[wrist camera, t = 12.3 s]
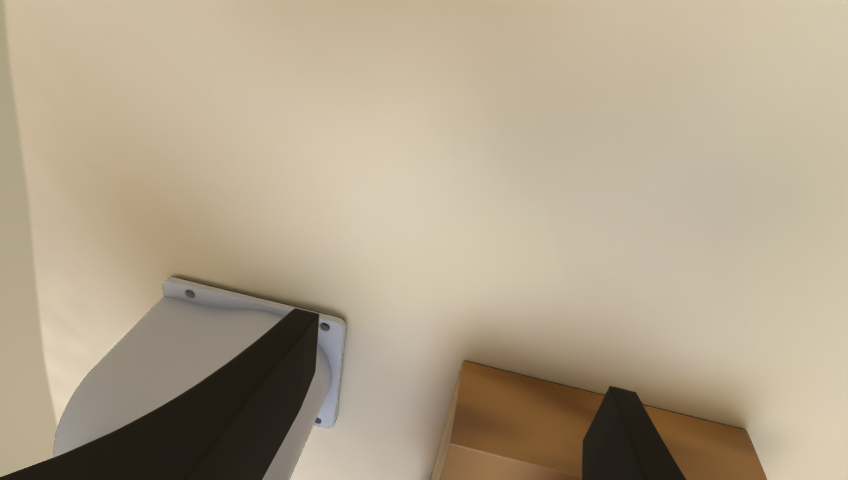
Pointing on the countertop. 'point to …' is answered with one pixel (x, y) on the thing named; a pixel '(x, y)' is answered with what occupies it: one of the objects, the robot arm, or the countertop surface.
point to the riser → (564, 433)
